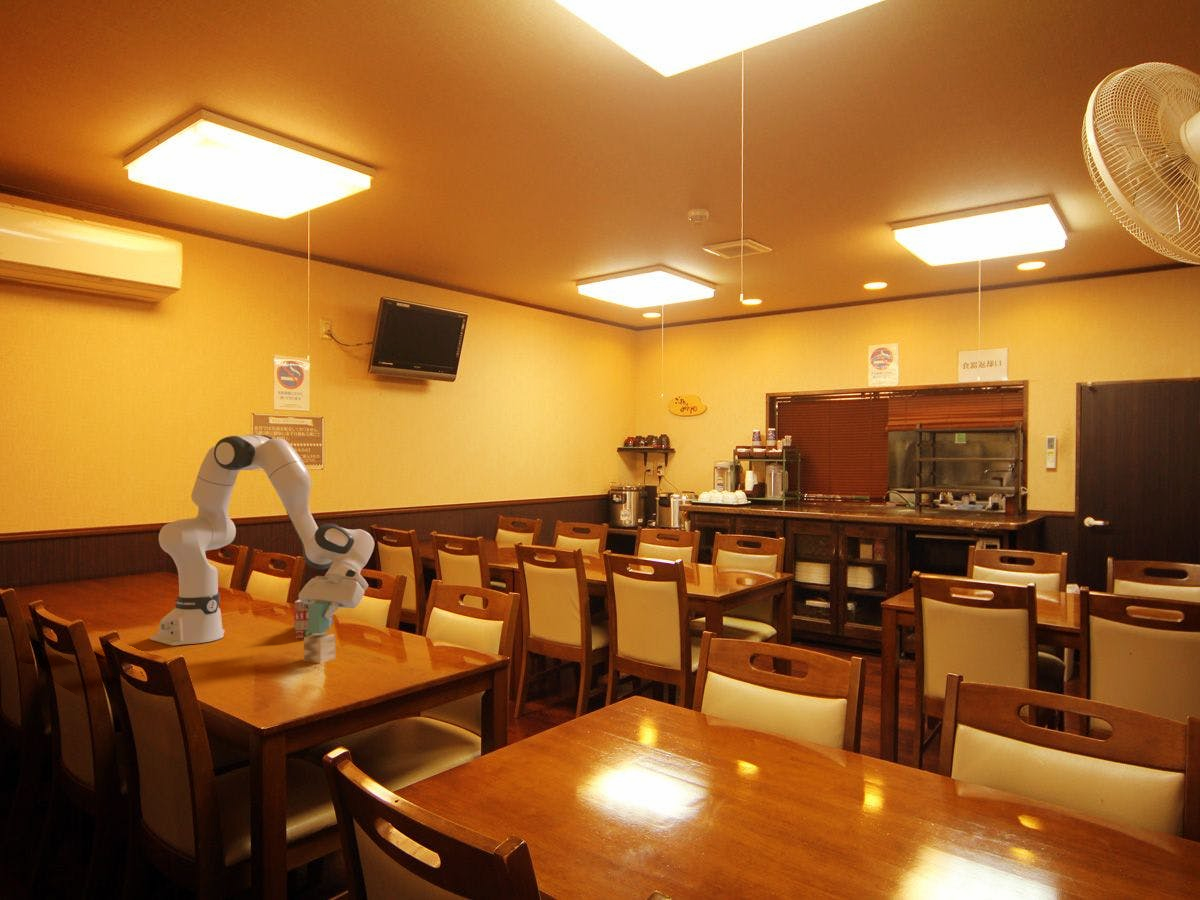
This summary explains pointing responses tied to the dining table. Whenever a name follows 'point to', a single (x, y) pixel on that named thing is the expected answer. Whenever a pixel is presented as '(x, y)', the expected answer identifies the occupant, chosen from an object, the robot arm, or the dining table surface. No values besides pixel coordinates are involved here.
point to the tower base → (319, 655)
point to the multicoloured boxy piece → (303, 620)
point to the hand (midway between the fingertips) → (317, 616)
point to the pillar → (317, 618)
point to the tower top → (319, 642)
